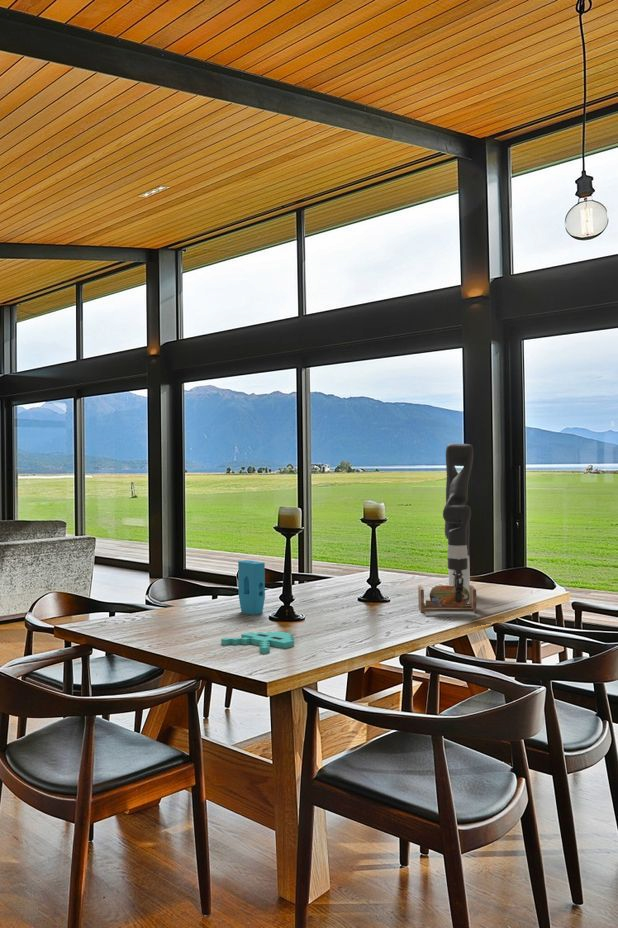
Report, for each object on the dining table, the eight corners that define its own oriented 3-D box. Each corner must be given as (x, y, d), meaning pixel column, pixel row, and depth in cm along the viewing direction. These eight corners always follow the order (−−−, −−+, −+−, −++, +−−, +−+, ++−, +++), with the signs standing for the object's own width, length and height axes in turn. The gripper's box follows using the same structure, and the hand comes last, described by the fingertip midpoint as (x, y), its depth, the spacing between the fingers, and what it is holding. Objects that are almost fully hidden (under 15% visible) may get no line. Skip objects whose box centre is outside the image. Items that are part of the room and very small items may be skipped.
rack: (418, 607, 314) (418, 585, 314) (472, 607, 313) (471, 585, 313) (420, 612, 303) (420, 589, 303) (476, 612, 302) (476, 589, 302)
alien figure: (264, 655, 240) (308, 643, 255) (264, 648, 240) (307, 636, 255) (221, 645, 254) (264, 635, 269) (221, 638, 254) (264, 628, 269)
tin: (429, 607, 298) (429, 585, 297) (429, 605, 301) (429, 584, 300) (469, 607, 297) (469, 585, 296) (468, 605, 300) (468, 584, 299)
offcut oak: (426, 603, 313) (426, 599, 313) (438, 604, 312) (438, 599, 312) (425, 605, 311) (425, 600, 311) (438, 605, 310) (438, 600, 310)
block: (237, 611, 310) (237, 561, 310) (247, 609, 313) (247, 560, 313) (255, 615, 301) (255, 563, 301) (266, 613, 304) (265, 562, 304)
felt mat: (424, 613, 302) (424, 611, 302) (473, 613, 301) (473, 611, 301) (426, 616, 295) (426, 615, 295) (476, 616, 294) (476, 615, 294)
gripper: (445, 554, 305) (445, 598, 305) (449, 558, 291) (450, 605, 291) (464, 554, 305) (465, 598, 305) (470, 558, 291) (470, 605, 291)
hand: (458, 601), depth 298 cm, fingers closed on tin, 2 cm apart
